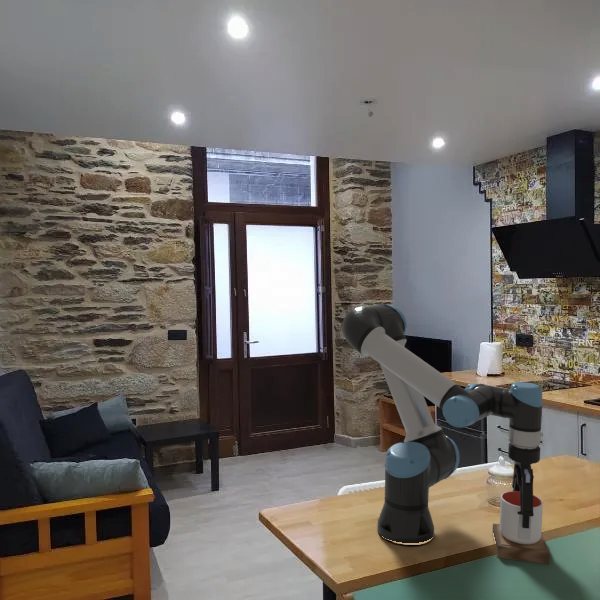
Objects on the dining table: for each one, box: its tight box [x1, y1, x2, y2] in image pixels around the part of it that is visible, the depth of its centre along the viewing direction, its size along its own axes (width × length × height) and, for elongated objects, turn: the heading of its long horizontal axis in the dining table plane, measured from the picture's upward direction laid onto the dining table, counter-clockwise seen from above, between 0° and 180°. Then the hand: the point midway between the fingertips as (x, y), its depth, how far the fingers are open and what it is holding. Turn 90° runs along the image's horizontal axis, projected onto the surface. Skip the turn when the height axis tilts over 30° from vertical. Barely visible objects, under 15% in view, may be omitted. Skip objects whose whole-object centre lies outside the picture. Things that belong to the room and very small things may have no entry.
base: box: [492, 523, 551, 565], centre depth 144 cm, size 12×12×3 cm
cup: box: [499, 490, 544, 544], centre depth 143 cm, size 10×10×10 cm
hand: (520, 528), depth 143 cm, fingers closed on cup, 10 cm apart
